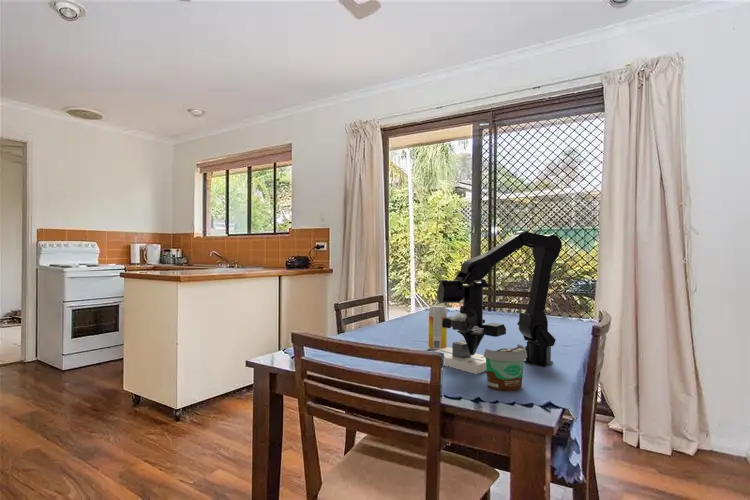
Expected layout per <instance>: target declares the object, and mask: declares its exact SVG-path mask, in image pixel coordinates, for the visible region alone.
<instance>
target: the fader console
mask: <svg viewBox="0 0 750 500" xmlns="http://www.w3.org/2000/svg"><path fill="white" fill-rule="evenodd" d="M435 351H436V352H441V353H444V356H445V367H448V366H450V367H449V368H452V367H453V368H452V369H455V368H456V370H459V369H460V371H463V372H466V371H467V373H470V374H474V375H478V373H479V374H481V373H483V372H487V368H486V358H485V357H484V354H480V353H476V352H475V354H474V355H471V356H468V357H465V358H458V357H454V356H452V347H448V346H446V348H442V349H439V350H435Z"/></svg>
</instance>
